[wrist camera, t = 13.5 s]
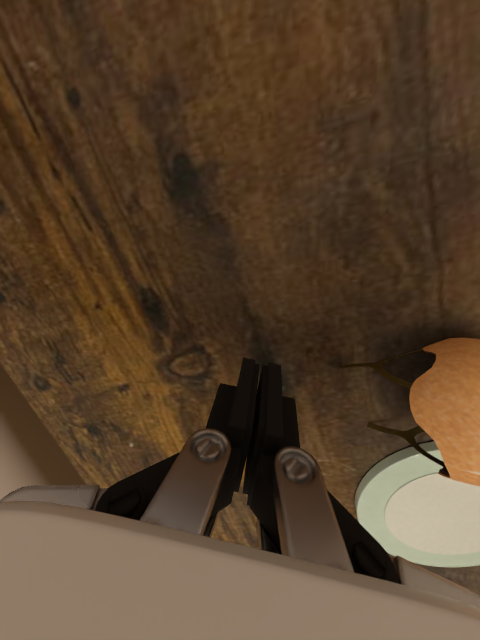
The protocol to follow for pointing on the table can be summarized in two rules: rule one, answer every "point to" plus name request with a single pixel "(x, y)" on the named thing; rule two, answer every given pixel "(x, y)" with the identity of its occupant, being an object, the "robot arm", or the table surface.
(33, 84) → the table surface
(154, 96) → the table surface
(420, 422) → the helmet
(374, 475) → the plate
